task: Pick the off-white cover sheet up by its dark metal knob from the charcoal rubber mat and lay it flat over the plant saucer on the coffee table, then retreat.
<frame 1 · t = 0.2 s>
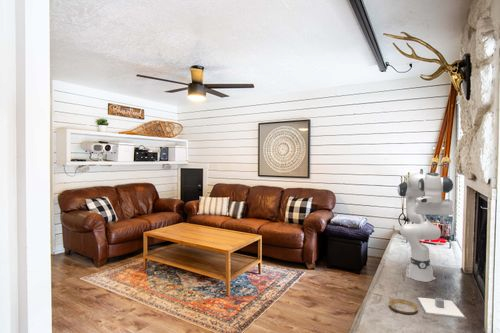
hand: (433, 221, 177), 47 cm above the hearth, fingers open, 8 cm apart
charcoal mat: (439, 308, 166), on the hearth
plant saucer: (403, 309, 166), on the hearth
cover sheet: (439, 307, 166), resting on charcoal mat
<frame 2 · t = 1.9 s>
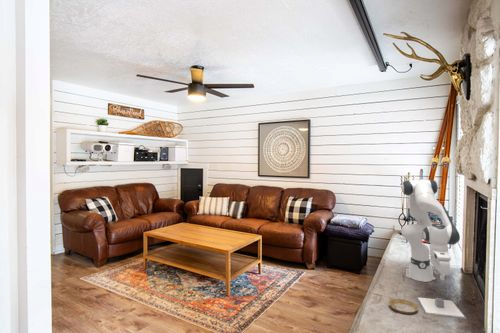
hand: (439, 276, 165), 18 cm above the hearth, fingers open, 8 cm apart
nothing on the hearth moved.
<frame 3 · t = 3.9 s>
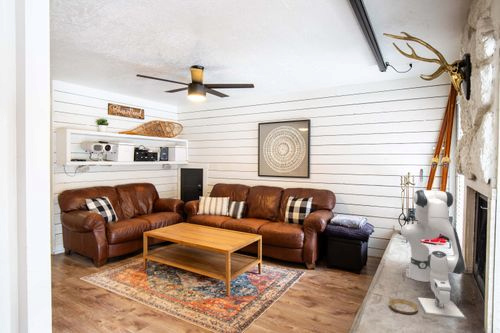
hand: (439, 304, 166), 2 cm above the hearth, fingers closed on cover sheet, 3 cm apart
cover sheet: (439, 307, 166), resting on charcoal mat, touching gripper
everything else where it was.
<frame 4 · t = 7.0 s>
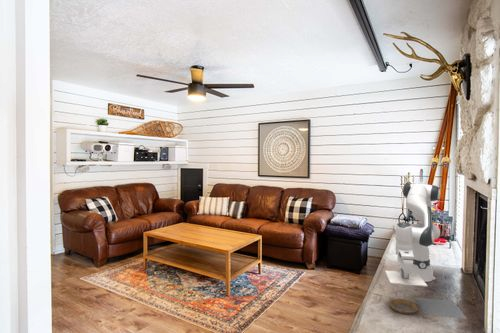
hand: (404, 275, 165), 20 cm above the hearth, fingers closed on cover sheet, 3 cm apart
cover sheet: (404, 278, 165), point 18 cm above the hearth, touching gripper
everything else where it was.
when the fingers open (6 cm above the hearth, at t = 9.9 s): cover sheet drops 3 cm, resting on plant saucer.
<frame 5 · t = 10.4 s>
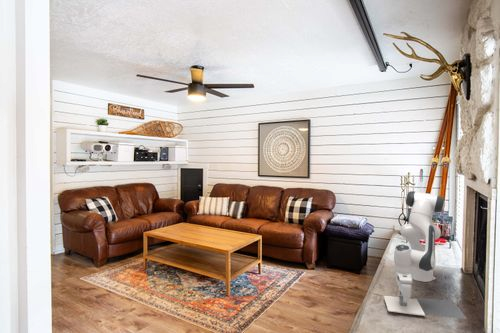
hand: (403, 298, 166), 6 cm above the hearth, fingers open, 8 cm apart
plant saucer: (403, 310, 166), on the hearth, touching cover sheet
cover sheet: (403, 305, 166), point 2 cm above the hearth, touching plant saucer
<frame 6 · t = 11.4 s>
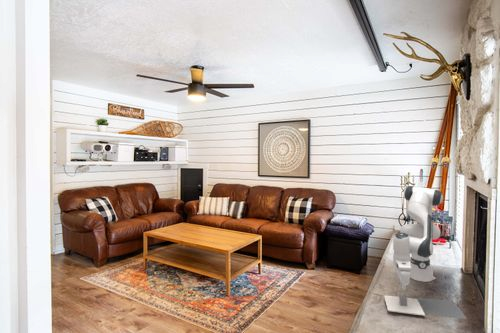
hand: (402, 285, 166), 13 cm above the hearth, fingers open, 8 cm apart
nothing on the hearth moved.
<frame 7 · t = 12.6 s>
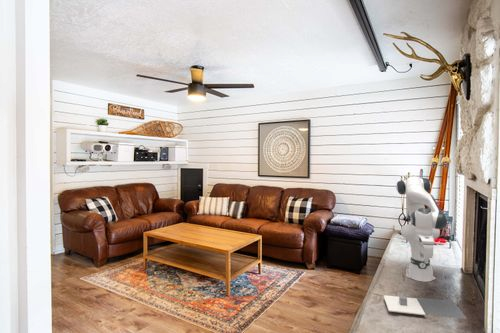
hand: (424, 260, 169), 27 cm above the hearth, fingers open, 8 cm apart
nothing on the hearth moved.
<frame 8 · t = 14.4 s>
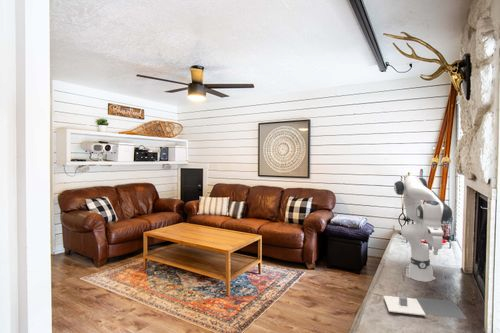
hand: (432, 252, 170), 31 cm above the hearth, fingers open, 8 cm apart
nothing on the hearth moved.
at the end: cover sheet 0.1 cm off-centre on the plant saucer, point 2.8 cm above the plant saucer's base; cover sheet tilted 0°; the gripper is holding nothing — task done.
